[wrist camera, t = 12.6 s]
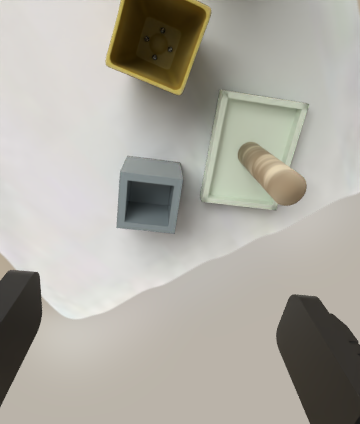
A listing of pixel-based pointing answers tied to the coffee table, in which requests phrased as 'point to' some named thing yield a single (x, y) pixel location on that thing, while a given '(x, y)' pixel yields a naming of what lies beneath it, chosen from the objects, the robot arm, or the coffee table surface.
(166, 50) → the flower pot
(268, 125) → the tray
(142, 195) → the grey square box
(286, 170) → the dowel
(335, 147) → the coffee table surface
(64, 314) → the coffee table surface
